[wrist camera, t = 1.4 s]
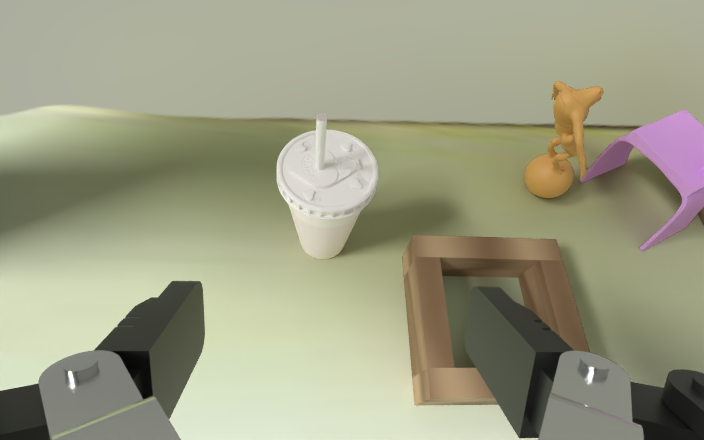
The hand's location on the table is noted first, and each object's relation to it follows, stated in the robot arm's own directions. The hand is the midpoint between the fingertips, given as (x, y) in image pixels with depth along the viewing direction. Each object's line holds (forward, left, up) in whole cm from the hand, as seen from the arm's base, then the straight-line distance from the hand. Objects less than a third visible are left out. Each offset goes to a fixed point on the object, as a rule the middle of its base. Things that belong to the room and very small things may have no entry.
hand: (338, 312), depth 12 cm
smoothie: (0, +11, -18) cm, 21 cm away
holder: (+12, +4, -18) cm, 22 cm away
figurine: (+19, +17, -18) cm, 31 cm away
